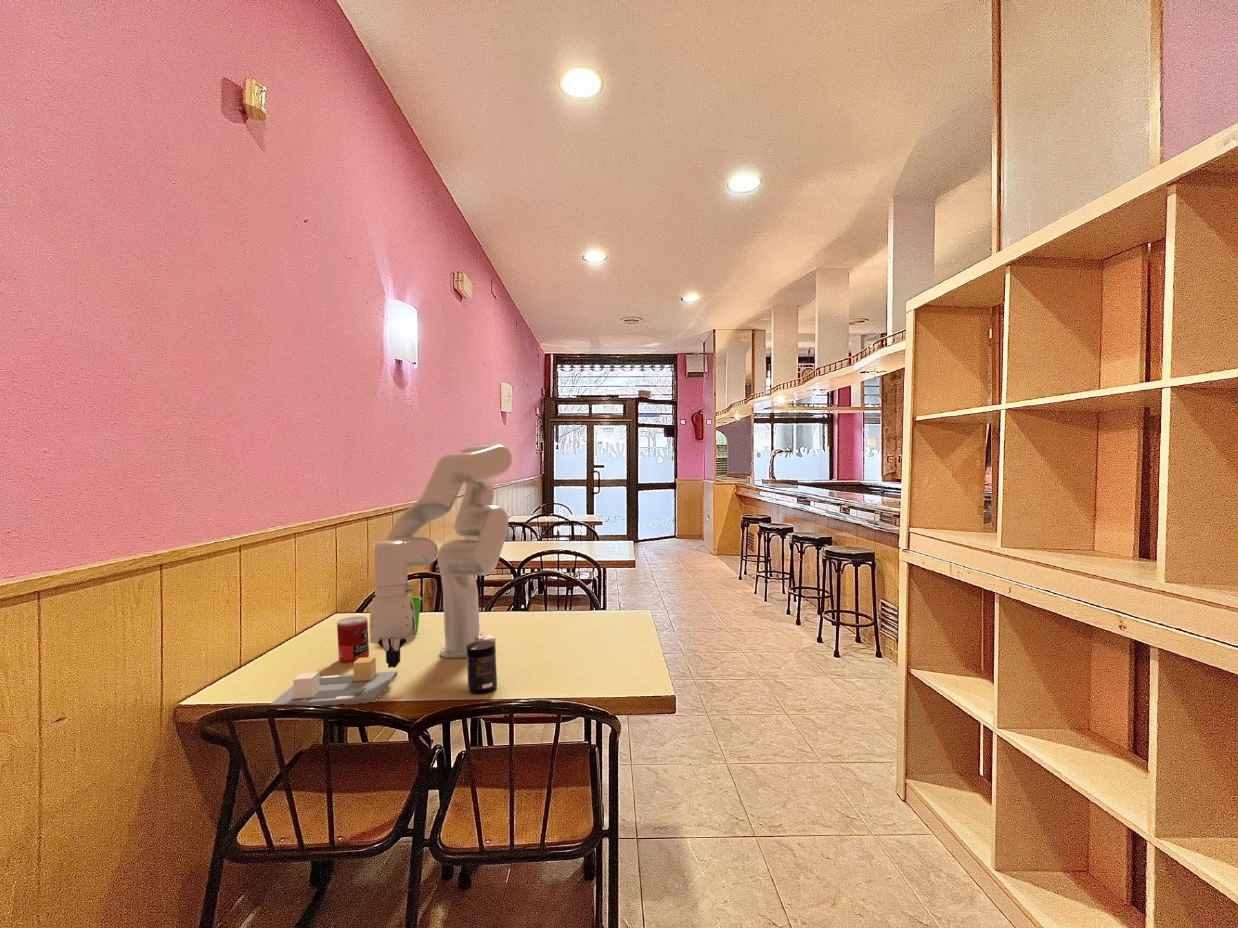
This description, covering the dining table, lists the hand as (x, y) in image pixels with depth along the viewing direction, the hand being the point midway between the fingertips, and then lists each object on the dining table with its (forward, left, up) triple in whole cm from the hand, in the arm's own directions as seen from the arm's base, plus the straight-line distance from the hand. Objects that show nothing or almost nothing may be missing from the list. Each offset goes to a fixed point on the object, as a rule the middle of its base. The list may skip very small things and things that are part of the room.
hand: (393, 665), depth 148 cm
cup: (+8, -43, -4) cm, 44 cm away
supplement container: (-23, +9, -4) cm, 25 cm away
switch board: (+12, +4, -4) cm, 13 cm away
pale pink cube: (+17, +8, -3) cm, 19 cm away
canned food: (+17, -21, -4) cm, 28 cm away
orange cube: (+7, -1, -3) cm, 8 cm away
